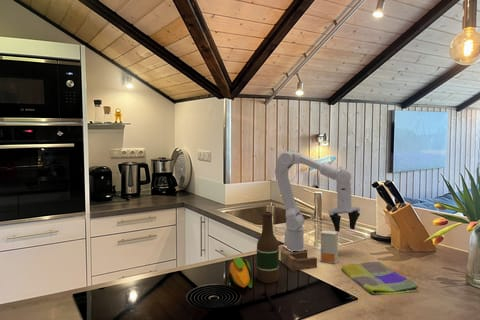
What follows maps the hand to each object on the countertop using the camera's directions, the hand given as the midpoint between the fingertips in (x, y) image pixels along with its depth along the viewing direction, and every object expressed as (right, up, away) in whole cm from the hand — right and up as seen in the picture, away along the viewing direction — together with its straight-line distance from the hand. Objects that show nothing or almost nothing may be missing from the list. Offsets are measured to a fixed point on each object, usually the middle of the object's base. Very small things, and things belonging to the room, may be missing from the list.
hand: (344, 230), depth 155 cm
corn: (-44, -13, -29) cm, 54 cm away
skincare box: (-9, -11, -8) cm, 16 cm away
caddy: (-21, -11, -11) cm, 26 cm away
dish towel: (+3, -13, -27) cm, 30 cm away
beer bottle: (-35, -13, -26) cm, 45 cm away
